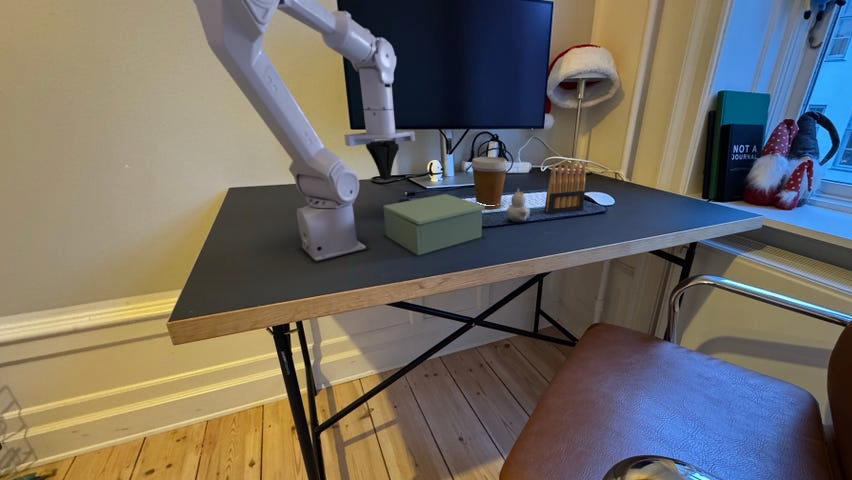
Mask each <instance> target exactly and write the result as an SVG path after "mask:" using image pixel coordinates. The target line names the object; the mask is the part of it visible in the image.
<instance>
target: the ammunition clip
mask: <svg viewBox="0 0 852 480" xmlns="http://www.w3.org/2000/svg"><path fill="white" fill-rule="evenodd" d="M568 167H569V168H568ZM574 167H575V168H574ZM586 174H587V165H586V162H584V163H583V164H582V165H580V162H577V164H576V166H574V163H571V164H570V166H568V163H565V165H564V167H562V164H561V163H560V164H559V165H558V167H557V169H556V165H555V164H552V167H551V172H550V177H549V180H548V186H547V187H548V189H547V192H546V196H545V204H544V212H545V213H546V214H550V215H551V214H557V213H558V214H559V213H567V212H576V211H578V212H579V211H583V210H584V204H585V203H584V202H585V195H586V190H585V186H586Z"/></svg>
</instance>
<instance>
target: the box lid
mask: <svg viewBox="0 0 852 480" xmlns="http://www.w3.org/2000/svg"><path fill="white" fill-rule="evenodd" d="M382 207H383V208H382V209H383V210H384V209H385V210H387V211H389V212H391V213H394V214H396V215H398V216H400V217H402V218H405V219H407V220H409V221H411V222H413V223H416V224H418V225H420V224H424V223H428V222H433V221H437V220H441V219H445V218H450V217H454V216H458V215H463V214H467V213H471V212H475V211H480V210H482V211H484V210H486V209H485V206H483V205H480V204H476V202H473V201H469V200H466V199H463V198H461V197H457V196H455V195H451V194H448V193H444V194H438V195H433V196H428V197H423V198H417V199H412V200H407V201H402V202H395V203H390V204H385V205H382Z"/></svg>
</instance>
